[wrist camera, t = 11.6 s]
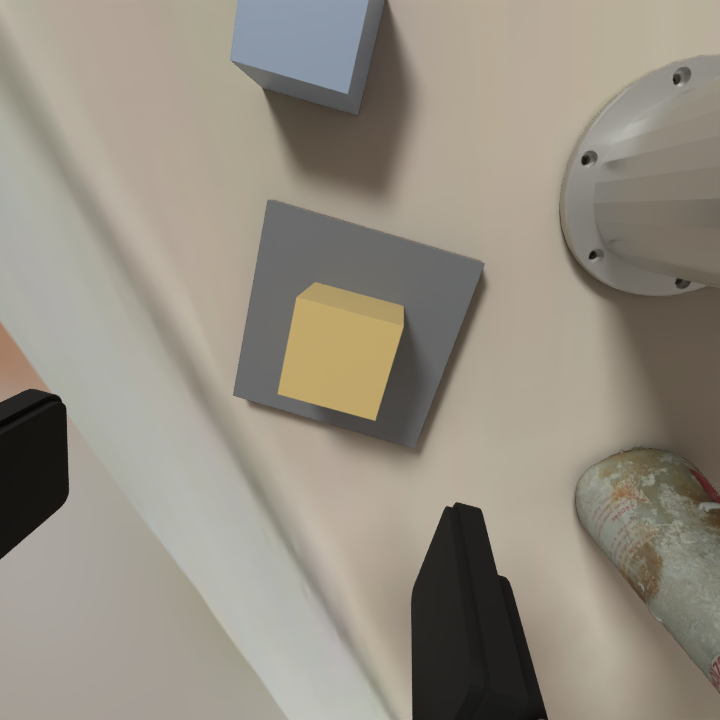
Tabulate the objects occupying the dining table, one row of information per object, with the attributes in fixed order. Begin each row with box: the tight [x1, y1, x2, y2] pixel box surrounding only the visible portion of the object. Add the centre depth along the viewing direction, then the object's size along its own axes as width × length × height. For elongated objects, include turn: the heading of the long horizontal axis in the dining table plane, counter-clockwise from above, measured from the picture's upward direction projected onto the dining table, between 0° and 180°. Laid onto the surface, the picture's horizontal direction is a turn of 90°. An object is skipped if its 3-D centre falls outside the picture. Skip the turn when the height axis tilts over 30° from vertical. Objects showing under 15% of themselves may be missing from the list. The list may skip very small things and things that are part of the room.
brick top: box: [230, 0, 385, 116], centre depth 21 cm, size 6×6×5 cm
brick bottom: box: [278, 282, 404, 421], centre depth 25 cm, size 6×6×5 cm
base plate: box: [233, 200, 484, 449], centre depth 28 cm, size 14×14×2 cm
